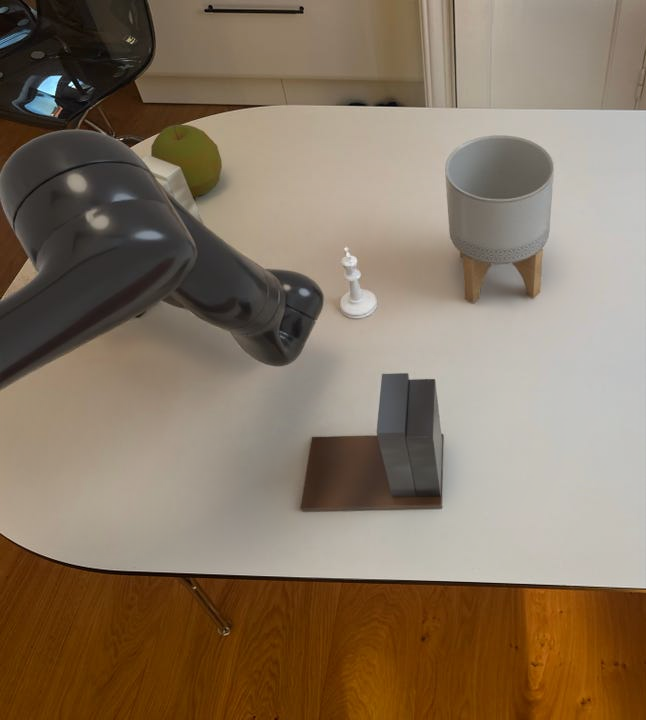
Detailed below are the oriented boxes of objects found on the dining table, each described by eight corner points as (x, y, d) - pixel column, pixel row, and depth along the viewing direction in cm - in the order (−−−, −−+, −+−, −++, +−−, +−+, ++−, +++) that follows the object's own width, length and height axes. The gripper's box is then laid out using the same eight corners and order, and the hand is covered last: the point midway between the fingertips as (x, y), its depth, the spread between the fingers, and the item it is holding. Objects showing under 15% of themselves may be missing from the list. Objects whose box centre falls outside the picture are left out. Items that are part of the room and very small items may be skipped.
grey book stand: (301, 511, 75) (270, 444, 65) (313, 440, 81) (286, 368, 71) (442, 508, 75) (433, 440, 65) (443, 437, 81) (435, 364, 70)
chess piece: (371, 288, 96) (360, 231, 89) (381, 312, 93) (371, 256, 86) (336, 298, 95) (322, 241, 88) (345, 323, 92) (331, 266, 85)
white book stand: (138, 318, 94) (93, 241, 83) (91, 295, 97) (42, 218, 86) (224, 243, 103) (194, 165, 92) (179, 224, 106) (145, 147, 95)
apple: (155, 186, 112) (127, 124, 103) (211, 161, 116) (188, 100, 107) (183, 216, 107) (156, 154, 98) (240, 190, 111) (219, 128, 102)
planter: (564, 269, 98) (575, 160, 84) (507, 323, 92) (508, 215, 78) (492, 231, 103) (491, 123, 89) (433, 280, 97) (422, 171, 83)
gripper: (203, 210, 83) (102, 170, 89) (112, 284, 76) (7, 235, 82) (223, 257, 89) (126, 217, 95) (140, 330, 82) (40, 281, 87)
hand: (72, 225), depth 88 cm, fingers closed on white book, 2 cm apart
